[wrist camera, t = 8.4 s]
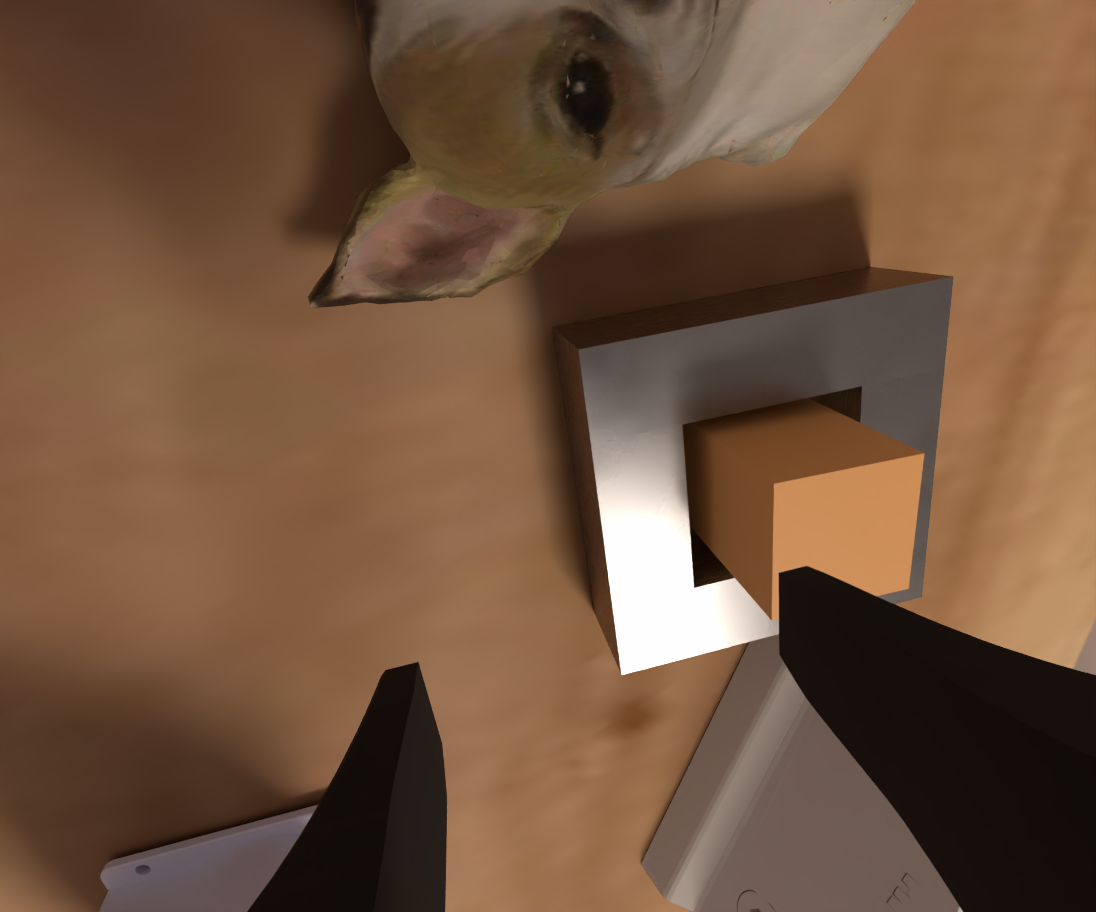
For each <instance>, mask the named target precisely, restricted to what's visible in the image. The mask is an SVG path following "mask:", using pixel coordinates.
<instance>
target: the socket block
mask: <svg viewBox="0 0 1096 912" xmlns="http://www.w3.org/2000/svg"><path fill="white" fill-rule="evenodd" d="M952 285H953V276H944V275H936V274H927V273H918V272H910V271H901V270H893V269H884V268H876V267H869V268H864V269H858V270H853V271H848V272H842V273H837V274H832V275H827V276H821V277H816V278H811V279H805V280H800V281H795V282H790V283H784V284H779V285H774V286H768V287H763V288H758V289H753V290H747V291H742V292H737V293H731V294H726V295H721V296H716V297H710V298H705V299H700V300H694V301H689V302H684V303H679V304H673V305H668V306H663V307H657V308H652V309H647V310H642V311H636V312H631V313H626V314H620V315H615V316H610V317H605V318H599V319H594V320H589V321H583V322H578V323H573V324H568V325H562V326H557V327H553V334H554V341H555V347H556V354H557V361H558V368H559V375H560V381H561V388H562V395H563V402H564V409H565V415H566V422H567V429H568V436H569V443H570V449H571V456H572V463H573V470H574V477H575V483H576V490H577V497H578V504H579V510H580V517H581V524H582V531H583V538H584V544H585V551H586V558H587V565H588V572H589V578H590V585H591V592H592V599H593V606H594V612H595V615H596V617H597V620H598V622H599V624H600V627H601V629H602V631H603V633H604V636H605V638H606V640H607V643H608V645H609V647H610V649H611V652H612V654H613V656H614V659H615V661H616V663H617V665H618V668H619V670H620V672H621V675H624V674H627V673H631V672H635V671H639V670H643V669H647V668H650V667H654V666H658V665H662V664H666V663H670V662H674V661H677V660H681V659H685V658H689V657H693V656H697V655H700V654H704V653H708V652H712V651H716V650H720V649H723V648H727V647H731V646H735V645H739V644H743V643H747V642H750V641H754V640H758V639H762V638H766V637H770V636H773V635H777V634H779V619H777V620H772V621H771V619H770V618H769V617H768V616H767V615H766V614H765V612H764V611H763V610H762V609H761V608H760V607H759V605H758V604H757V603H756V602H755V601H754V600H753V598H752V597H751V596H750V595H749V594H748V593H747V592H746V590H745V589H744V588H743V587H742V586H741V585H740V583H739V582H738V581H737V580H736V579H735V578H734V576H733V575H732V574H731V573H730V572H729V571H728V570H727V568H726V567H725V566H724V565H723V564H722V563H721V561H720V560H719V559H718V558H717V557H716V556H715V554H714V553H713V552H712V551H711V550H710V549H709V548H708V546H707V545H706V544H705V543H704V542H703V541H702V539H701V538H700V537H699V536H698V535H697V534H696V532H695V531H694V530H693V529H692V528H690V524H689V510H688V496H687V482H686V468H685V454H684V440H683V425H682V424H687V423H692V422H696V421H701V420H706V419H711V418H715V417H720V416H725V415H729V414H734V413H739V412H743V411H748V410H753V409H757V408H762V407H767V406H771V405H776V404H781V403H785V402H790V401H795V400H800V399H804V398H809V399H811V400H813V401H815V402H817V403H819V404H822V405H824V406H826V407H828V408H830V409H832V410H834V411H836V412H838V413H841V414H843V415H845V416H847V417H849V418H851V419H853V420H855V421H857V422H860V423H862V424H864V425H866V426H868V427H870V428H872V429H874V430H876V431H878V432H881V433H883V434H885V435H887V436H889V437H891V438H893V439H895V440H897V441H900V442H902V443H904V444H906V445H908V446H910V447H912V448H914V449H916V450H919V451H921V452H923V453H924V462H923V470H922V479H921V487H920V496H919V504H918V513H917V521H916V530H915V538H914V547H913V556H912V564H911V573H910V581H909V589H905V590H901V591H897V592H893V593H888V594H884V595H880V596H877V597H879V598H881V599H884V600H886V601H888V602H890V603H893V604H896V603H900V602H904V601H908V600H912V599H916V598H919V597H922V589H923V579H924V568H925V558H926V548H927V538H928V528H929V518H930V508H931V498H932V487H933V477H934V467H935V457H936V447H937V437H938V427H939V417H940V406H941V396H942V386H943V376H944V366H945V356H946V346H947V335H948V325H949V315H950V305H951V295H952Z"/></svg>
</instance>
